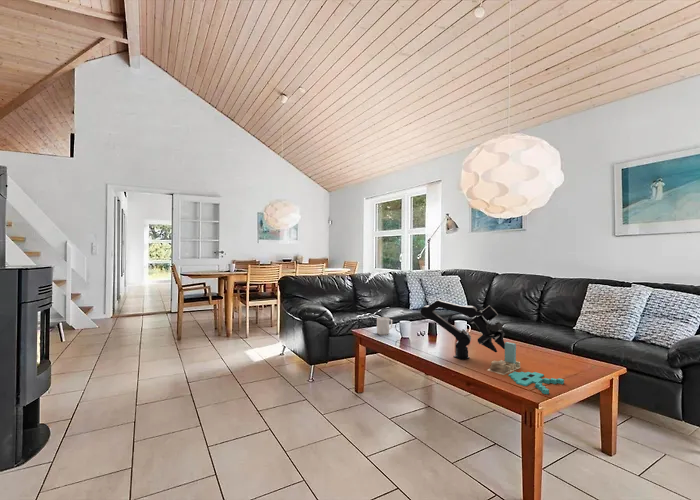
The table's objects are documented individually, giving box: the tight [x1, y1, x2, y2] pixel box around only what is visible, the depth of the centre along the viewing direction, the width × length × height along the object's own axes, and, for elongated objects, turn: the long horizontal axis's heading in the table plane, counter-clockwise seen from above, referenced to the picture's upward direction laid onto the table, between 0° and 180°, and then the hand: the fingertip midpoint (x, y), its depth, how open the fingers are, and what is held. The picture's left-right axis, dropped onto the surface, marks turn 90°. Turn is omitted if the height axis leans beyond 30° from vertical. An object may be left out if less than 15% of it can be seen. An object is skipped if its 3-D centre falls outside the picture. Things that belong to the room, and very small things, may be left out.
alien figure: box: [508, 371, 565, 395], centre depth 173 cm, size 20×2×20 cm
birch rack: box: [487, 358, 522, 376], centre depth 189 cm, size 9×18×4 cm, turn 130°
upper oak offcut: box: [490, 360, 506, 369], centre depth 185 cm, size 6×4×2 cm, turn 46°
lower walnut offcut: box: [489, 365, 508, 374], centre depth 185 cm, size 7×4×2 cm, turn 40°
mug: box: [376, 316, 393, 336], centre depth 265 cm, size 12×9×11 cm
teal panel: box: [504, 341, 517, 364], centre depth 192 cm, size 5×2×12 cm, turn 40°
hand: (501, 350), depth 196 cm, fingers open, 9 cm apart
